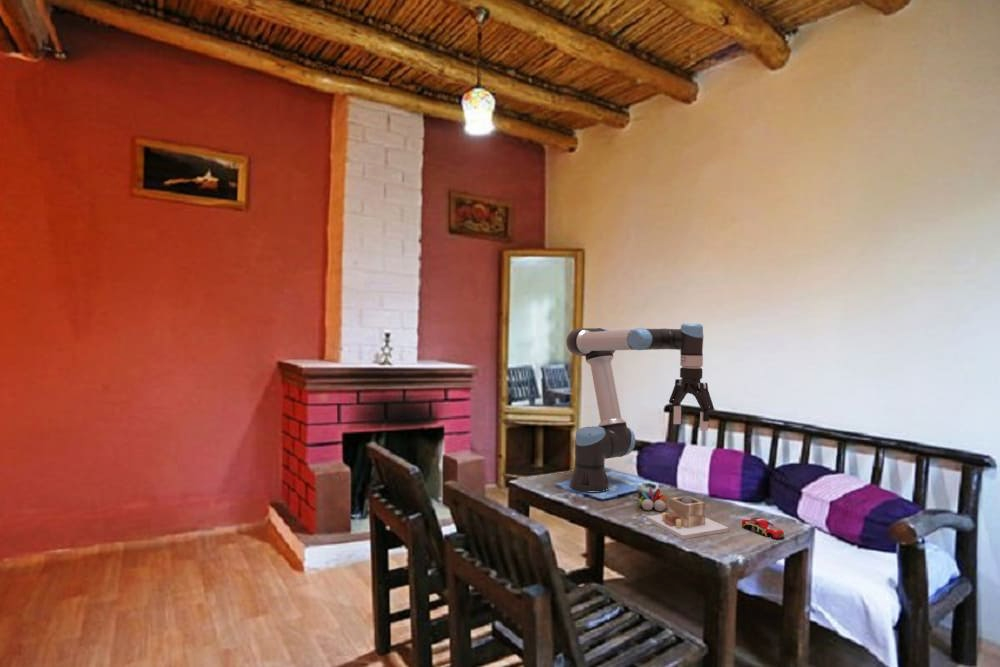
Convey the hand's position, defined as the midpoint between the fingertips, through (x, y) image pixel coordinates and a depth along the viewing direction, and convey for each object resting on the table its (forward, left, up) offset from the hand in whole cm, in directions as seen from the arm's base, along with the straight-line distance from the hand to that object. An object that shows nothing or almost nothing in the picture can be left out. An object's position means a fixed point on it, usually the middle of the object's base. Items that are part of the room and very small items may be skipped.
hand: (690, 427), depth 201 cm
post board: (+14, -13, -29) cm, 34 cm away
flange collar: (+14, -15, -27) cm, 34 cm away
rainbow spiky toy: (-4, -12, -29) cm, 32 cm away
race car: (+27, +6, -29) cm, 40 cm away
